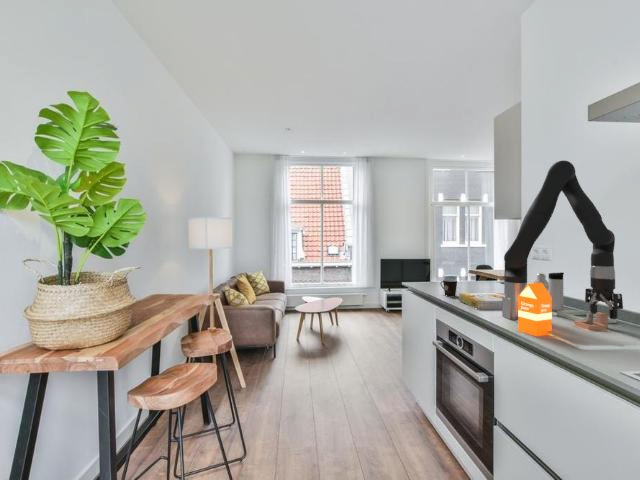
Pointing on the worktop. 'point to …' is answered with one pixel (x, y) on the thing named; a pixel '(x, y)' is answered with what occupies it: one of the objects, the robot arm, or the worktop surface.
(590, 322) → the wooden peg stand
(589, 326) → the collar
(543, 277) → the plastic bottle
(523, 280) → the robot arm
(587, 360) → the worktop surface
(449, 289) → the coffee mug
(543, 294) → the orange juice
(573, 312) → the tray
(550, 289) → the travel mug
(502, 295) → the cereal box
